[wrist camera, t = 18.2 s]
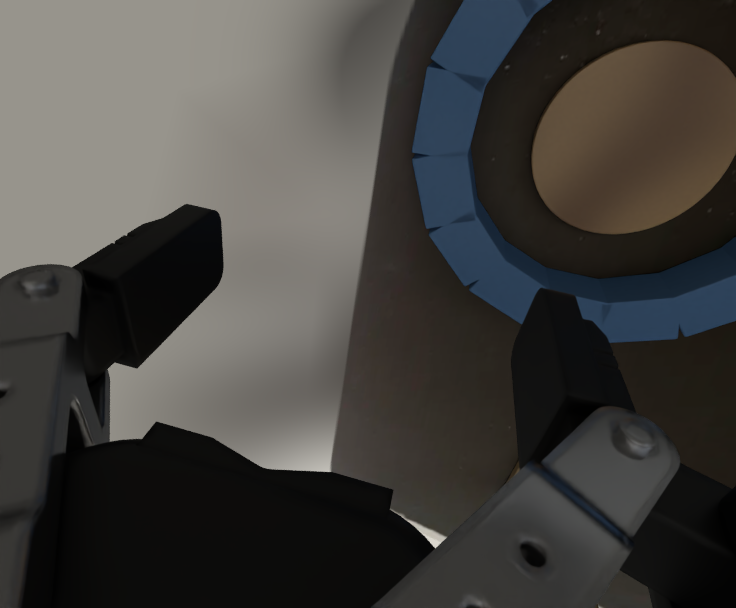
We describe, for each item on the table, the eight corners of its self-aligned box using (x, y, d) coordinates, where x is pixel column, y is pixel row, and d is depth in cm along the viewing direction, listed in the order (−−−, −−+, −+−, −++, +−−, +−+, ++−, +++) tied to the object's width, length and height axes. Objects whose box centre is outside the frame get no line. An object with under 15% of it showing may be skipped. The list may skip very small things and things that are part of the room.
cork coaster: (507, 211, 27) (507, 214, 27) (571, 23, 22) (573, 24, 21) (673, 246, 26) (677, 251, 26) (788, 59, 21) (795, 60, 20)
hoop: (394, 272, 32) (385, 293, 29) (480, -190, 18) (479, -221, 16) (730, 350, 29) (752, 380, 27) (1113, -126, 16) (1226, -151, 13)
